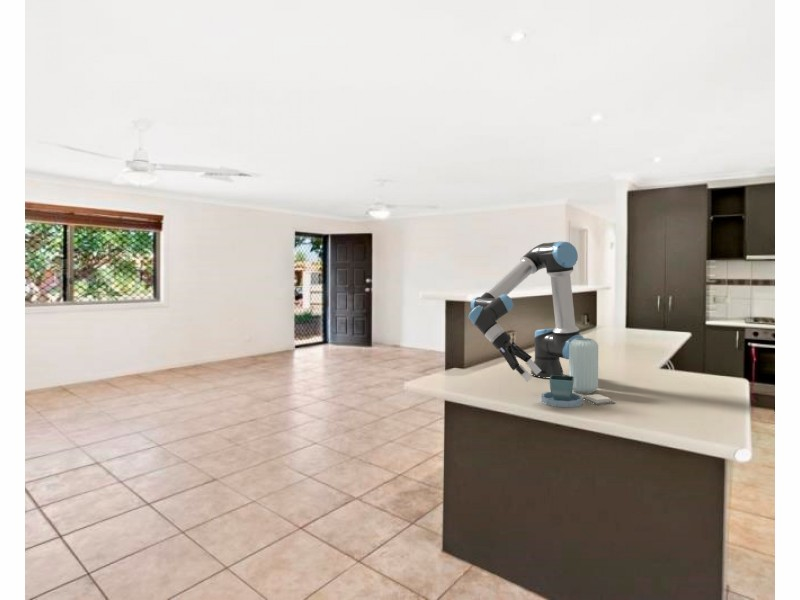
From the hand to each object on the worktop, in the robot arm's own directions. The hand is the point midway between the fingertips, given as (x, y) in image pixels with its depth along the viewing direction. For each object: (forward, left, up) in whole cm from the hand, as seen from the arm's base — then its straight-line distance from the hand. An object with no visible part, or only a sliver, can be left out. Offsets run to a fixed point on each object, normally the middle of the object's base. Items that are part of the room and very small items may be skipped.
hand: (534, 376), depth 191 cm
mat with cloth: (+11, +22, -9) cm, 26 cm away
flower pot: (+7, +8, -9) cm, 14 cm away
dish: (+8, +8, -9) cm, 14 cm away
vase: (-4, +26, -9) cm, 28 cm away
